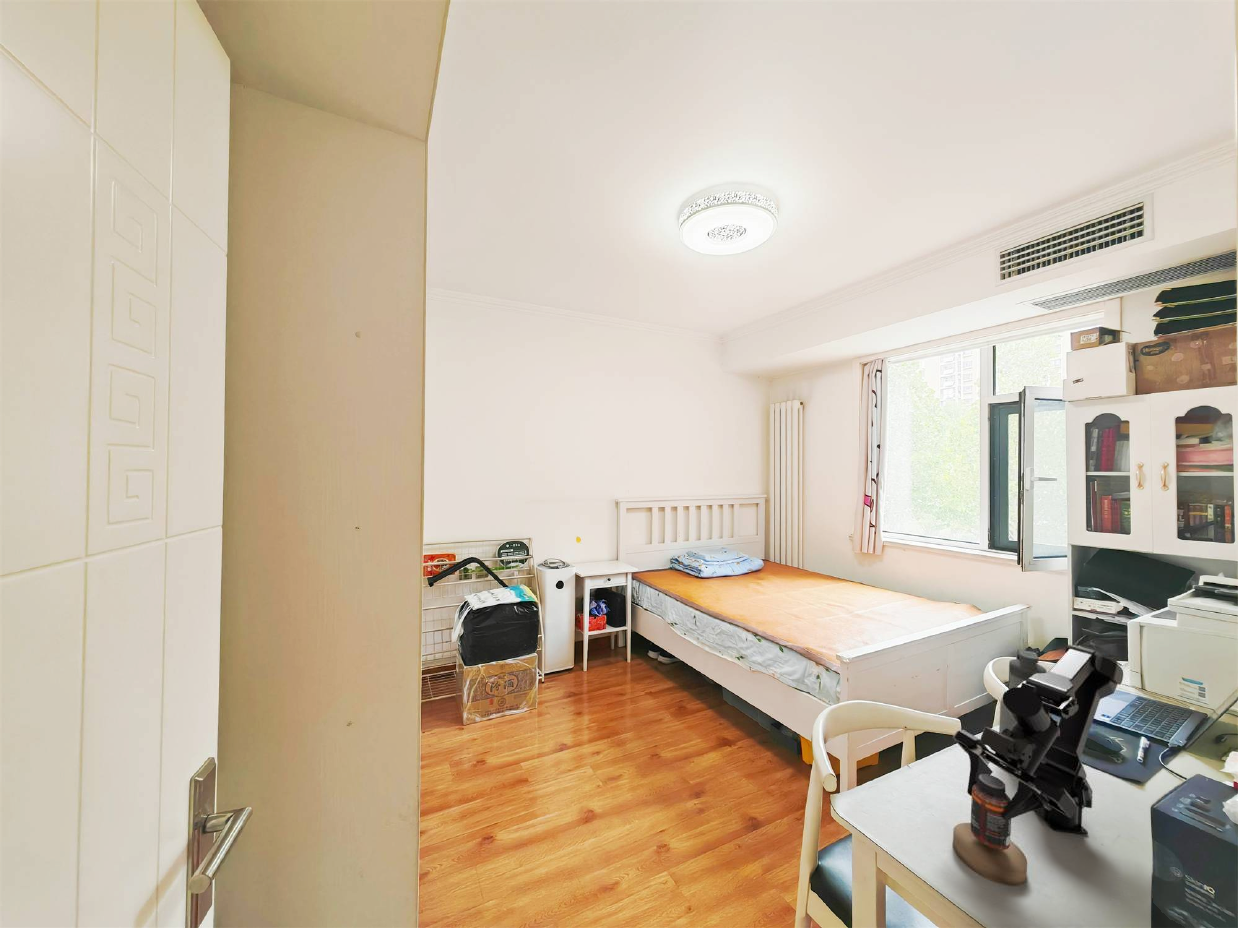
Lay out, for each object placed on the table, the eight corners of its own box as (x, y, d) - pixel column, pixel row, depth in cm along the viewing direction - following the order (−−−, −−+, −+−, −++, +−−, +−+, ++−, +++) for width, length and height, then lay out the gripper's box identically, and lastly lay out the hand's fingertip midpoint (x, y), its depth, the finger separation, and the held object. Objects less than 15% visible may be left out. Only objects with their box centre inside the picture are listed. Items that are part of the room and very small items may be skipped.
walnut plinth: (1001, 838, 93) (1001, 826, 93) (1042, 889, 82) (1043, 875, 82) (941, 831, 95) (941, 819, 95) (974, 879, 84) (974, 866, 84)
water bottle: (996, 745, 124) (1001, 641, 123) (1045, 759, 118) (1050, 651, 118) (999, 765, 116) (1004, 654, 115) (1052, 782, 110) (1058, 665, 109)
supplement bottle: (1018, 851, 86) (1021, 792, 85) (987, 852, 85) (990, 792, 85) (991, 825, 92) (993, 769, 91) (962, 826, 91) (964, 770, 91)
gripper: (961, 690, 98) (918, 750, 95) (1068, 744, 80) (1020, 821, 77) (987, 721, 100) (946, 781, 97) (1096, 780, 82) (1051, 855, 80)
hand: (985, 805), depth 88 cm, fingers closed on supplement bottle, 6 cm apart
